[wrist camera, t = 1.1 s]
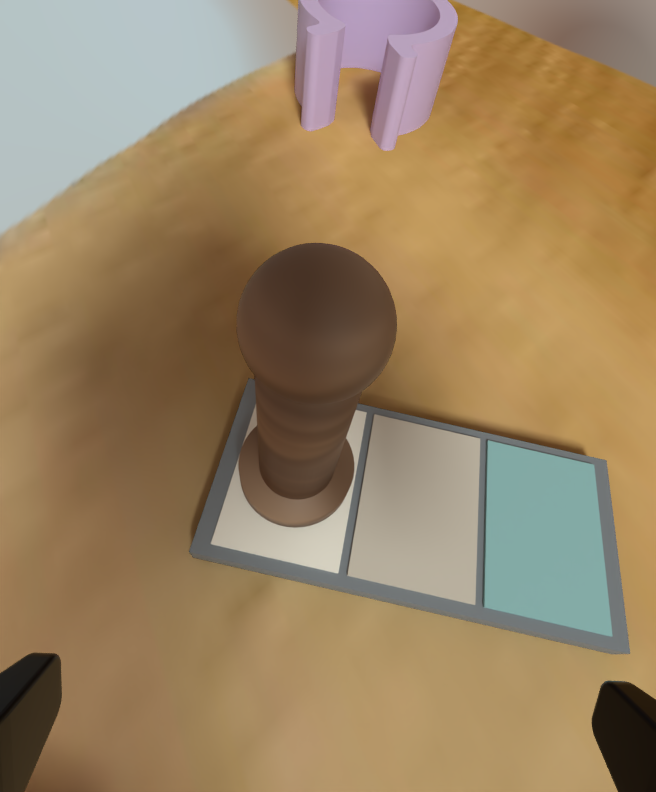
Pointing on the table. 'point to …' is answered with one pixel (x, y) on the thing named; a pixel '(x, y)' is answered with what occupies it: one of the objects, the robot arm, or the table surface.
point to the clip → (373, 58)
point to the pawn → (309, 375)
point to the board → (443, 529)
